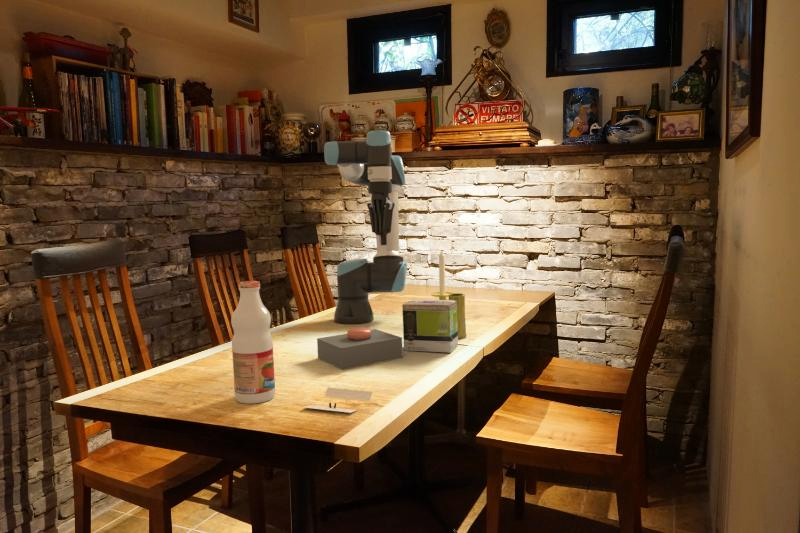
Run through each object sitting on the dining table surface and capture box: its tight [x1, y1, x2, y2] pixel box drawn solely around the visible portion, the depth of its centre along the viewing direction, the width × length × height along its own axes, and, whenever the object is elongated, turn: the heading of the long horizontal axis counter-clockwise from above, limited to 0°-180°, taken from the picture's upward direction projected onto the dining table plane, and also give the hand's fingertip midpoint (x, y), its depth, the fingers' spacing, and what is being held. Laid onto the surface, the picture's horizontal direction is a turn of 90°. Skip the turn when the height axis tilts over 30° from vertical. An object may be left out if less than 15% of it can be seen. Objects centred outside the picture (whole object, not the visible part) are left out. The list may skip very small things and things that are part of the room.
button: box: [346, 327, 372, 341], centre depth 180 cm, size 7×7×8 cm
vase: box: [448, 292, 467, 340], centre depth 204 cm, size 6×6×14 cm
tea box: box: [401, 299, 459, 354], centre depth 189 cm, size 15×10×15 cm, turn 71°
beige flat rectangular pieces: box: [303, 387, 373, 413], centre depth 141 cm, size 12×12×2 cm
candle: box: [431, 249, 455, 300], centre depth 233 cm, size 10×10×27 cm
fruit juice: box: [230, 280, 276, 405], centre depth 145 cm, size 9×9×28 cm
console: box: [316, 328, 403, 371], centre depth 181 cm, size 15×20×6 cm
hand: (381, 255), depth 196 cm, fingers closed
